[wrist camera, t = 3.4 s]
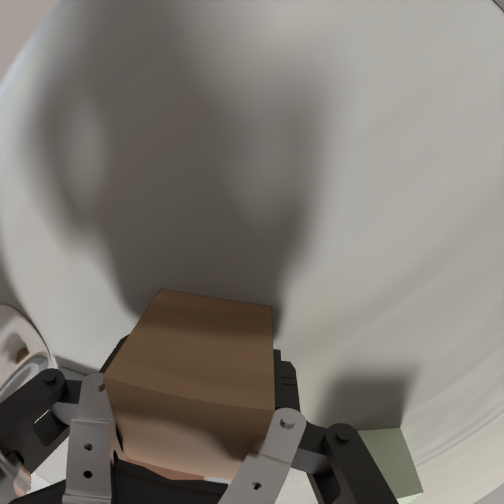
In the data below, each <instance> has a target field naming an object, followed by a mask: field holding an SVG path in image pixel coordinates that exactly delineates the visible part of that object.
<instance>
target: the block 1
mask: <svg viewBox="0 0 504 504" xmlns="http://www.w3.org/2000/svg"><path fill="white" fill-rule="evenodd" d="M103 380H104V384H105V388H106V392H107V396H108V399H109V403H110V405H113V406H114V410H115V414H116V418H115V423H116V427H117V430H118V433H119V436H120V437H123V440H124V443H125V453H126V456H127V458H130V459H133V460H137V461H140V462H144V463H147V464H151V465H155V466H158V467H162V468H167V469H171V470H175V471H180V472H185V473H190V474H195V475H201V476H206V477H213V478H220V479H227V480H233V478H234V477H235V475H236V473H237V472H238V470H239V468H240V467H241V465H242V463H243V462H244V460H245V458H246V457H247V455H248V453H249V452H250V451H252V450H253V448H254V446H255V444H256V443H257V441H258V439H259V437H260V435H263V436H267V433H268V430H269V427H270V424H271V421H272V418H273V415H274V412H275V391H274V358H273V330H272V306H266V305H259V304H252V303H245V302H238V301H232V300H225V299H219V298H212V297H206V296H200V295H194V294H188V293H182V292H176V291H171V290H165V289H161V290H160V291H159V293H158V294H157V296H156V297H155V298H154V300H153V301H152V303H151V304H150V306H149V307H148V308H147V310H146V311H145V313H144V314H143V316H142V317H141V319H140V320H139V322H138V323H137V325H136V326H135V327H134V329H133V330H132V332H131V333H130V335H129V336H128V338H127V339H126V341H125V342H124V344H123V345H122V347H121V348H120V350H119V352H118V353H117V355H116V356H115V358H114V359H113V361H112V362H111V364H110V365H109V367H108V368H107V370H106V372H105V373H104V375H103Z"/></svg>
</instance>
